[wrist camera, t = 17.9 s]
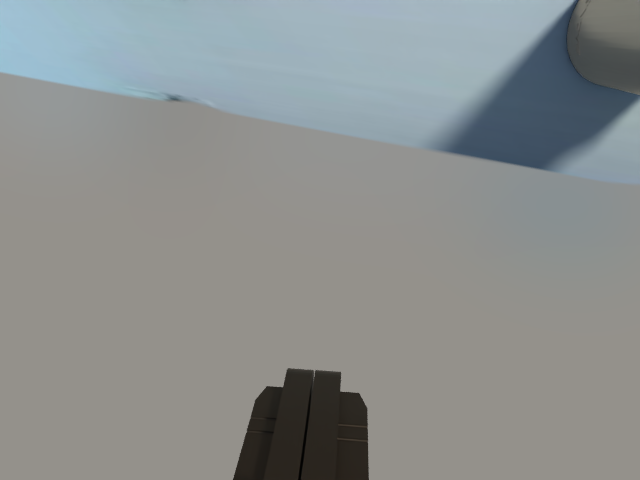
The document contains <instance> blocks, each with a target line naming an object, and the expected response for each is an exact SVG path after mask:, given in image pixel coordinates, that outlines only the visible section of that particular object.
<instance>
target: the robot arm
mask: <svg viewBox="0 0 640 480" xmlns="http://www.w3.org/2000/svg"><path fill="white" fill-rule="evenodd" d="M567 47H568V53H569V56H570V59H571V62H572V64H573V65H574V67H575V69H576V70H577V72H579V73H580V74H581V75H582V76H583V77H584V78H585V79H587V80H589V81H590V82H592V83H594V84H598V85H601V86H605V87H610V88H614V89H618V90H622V91H625V92H629V93H634V94H638V95H640V0H579V1H578V3H577V5H576V7H575V9H574V11H573V13H572V16H571V19H570V22H569V26H568V33H567ZM340 383H341V372H333V371H319V370H316V371H315V377H314V371H313V370H304V369H290V368H288V370H287V373H286V377H285V382H284V386H283V387H270V386H267V387H266V388H265V389H264V390H263V392H262V393H261V394H260V395H259V397H258V398H257V399H256V400H255V404H254V407H253V411H252V415H251V419H250V422H249V425H248V428H247V433H246V436H245V439H244V444H243V446H242V450H241V453H240V457H239V461H238V464H237V468H236V471H235V475H234V478H233V480H369V477H368V476H369V475H368V474H369V473H368V429H367V425H368V423H367V407H366V405H365V403H364V401H363V399H362V398H361V396H360V394H359V393H351V392H340Z"/></svg>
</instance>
